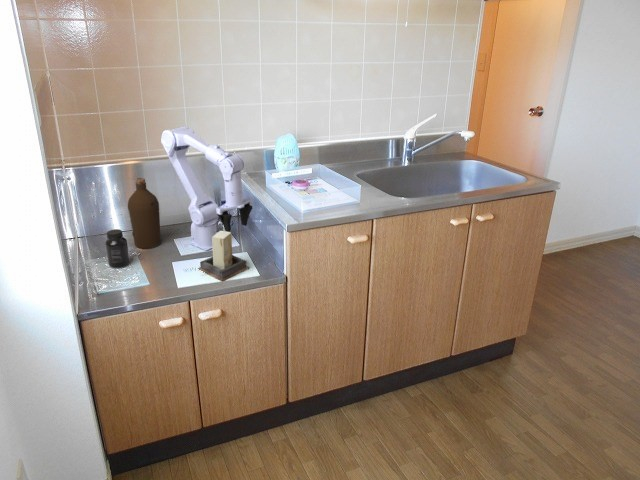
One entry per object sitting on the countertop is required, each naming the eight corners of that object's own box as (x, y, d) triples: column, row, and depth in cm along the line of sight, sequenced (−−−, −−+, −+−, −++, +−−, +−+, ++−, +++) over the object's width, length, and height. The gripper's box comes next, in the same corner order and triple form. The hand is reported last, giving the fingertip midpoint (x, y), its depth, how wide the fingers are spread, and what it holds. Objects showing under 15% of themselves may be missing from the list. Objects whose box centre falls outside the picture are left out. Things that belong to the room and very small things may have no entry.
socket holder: (198, 269, 167) (197, 261, 166) (225, 258, 176) (224, 250, 174) (222, 281, 160) (221, 273, 159) (248, 268, 169) (248, 260, 168)
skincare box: (225, 272, 165) (223, 239, 160) (213, 270, 166) (211, 237, 161) (233, 264, 170) (231, 231, 165) (221, 262, 171) (220, 229, 166)
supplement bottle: (134, 261, 171) (129, 229, 166) (120, 270, 165) (116, 237, 160) (117, 258, 173) (113, 226, 168) (104, 266, 167) (98, 234, 162)
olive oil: (166, 238, 189) (160, 175, 178) (157, 250, 179) (149, 184, 169) (139, 237, 189) (131, 174, 179) (128, 249, 180) (119, 183, 169)
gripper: (224, 198, 161) (227, 237, 167) (257, 188, 171) (259, 224, 177) (210, 194, 165) (214, 232, 171) (243, 184, 176) (245, 220, 181)
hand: (236, 228), depth 174 cm, fingers open, 7 cm apart
